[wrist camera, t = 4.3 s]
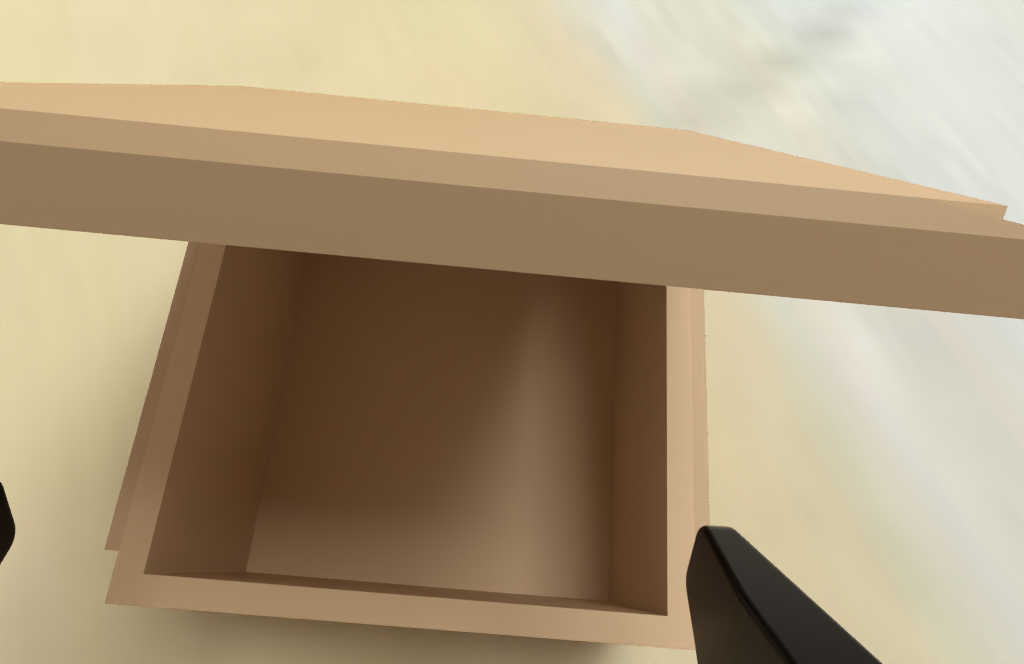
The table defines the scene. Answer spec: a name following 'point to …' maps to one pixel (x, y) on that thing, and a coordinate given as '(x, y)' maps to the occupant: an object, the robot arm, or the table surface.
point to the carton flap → (493, 194)
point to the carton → (419, 449)
